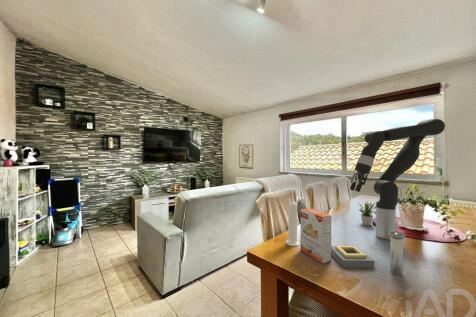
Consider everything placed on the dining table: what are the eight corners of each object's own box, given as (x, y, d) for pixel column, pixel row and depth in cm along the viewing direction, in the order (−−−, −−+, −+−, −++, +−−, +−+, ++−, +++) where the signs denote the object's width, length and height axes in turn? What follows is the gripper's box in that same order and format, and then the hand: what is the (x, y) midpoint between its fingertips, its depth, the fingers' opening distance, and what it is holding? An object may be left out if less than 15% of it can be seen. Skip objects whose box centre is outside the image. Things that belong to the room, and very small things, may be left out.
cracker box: (299, 250, 97) (299, 208, 97) (308, 248, 100) (309, 207, 100) (321, 264, 84) (321, 216, 84) (331, 261, 87) (332, 215, 87)
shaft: (397, 269, 81) (398, 230, 81) (408, 276, 76) (408, 235, 76) (385, 269, 81) (385, 230, 81) (395, 276, 76) (395, 235, 76)
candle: (292, 247, 100) (292, 199, 100) (283, 242, 107) (283, 196, 107) (302, 244, 104) (302, 198, 104) (293, 239, 110) (293, 195, 110)
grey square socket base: (356, 252, 95) (356, 244, 95) (374, 267, 82) (374, 257, 82) (329, 252, 95) (329, 243, 95) (343, 267, 82) (343, 257, 82)
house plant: (386, 228, 128) (386, 203, 128) (365, 228, 128) (365, 203, 128) (371, 221, 142) (372, 199, 142) (352, 221, 142) (353, 199, 142)
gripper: (377, 166, 104) (366, 194, 104) (365, 167, 118) (356, 192, 118) (362, 161, 106) (351, 189, 106) (353, 162, 120) (343, 187, 120)
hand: (354, 190), depth 112 cm, fingers open, 8 cm apart
